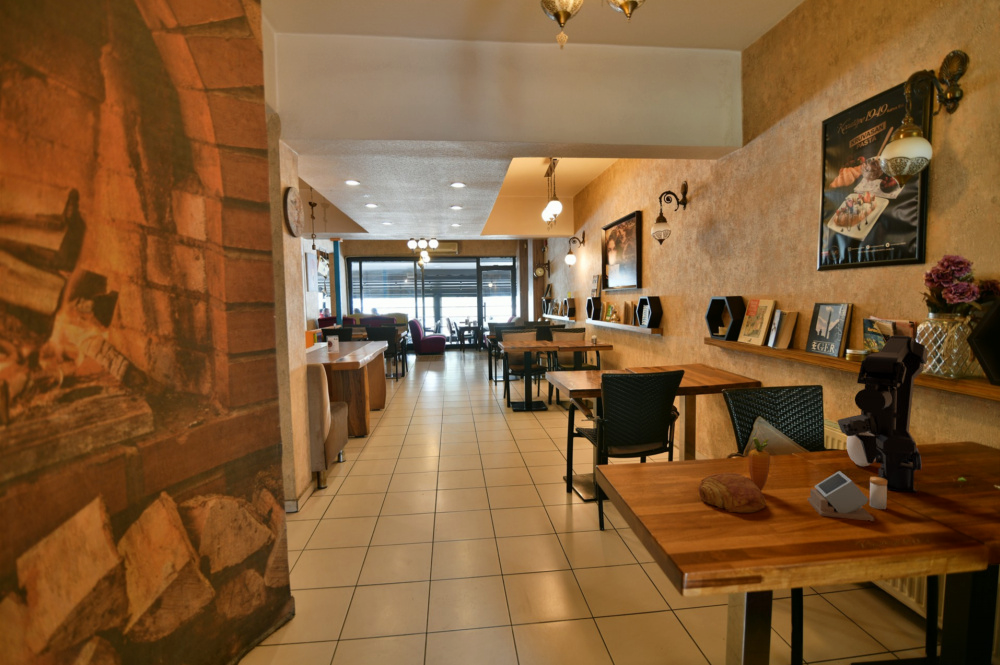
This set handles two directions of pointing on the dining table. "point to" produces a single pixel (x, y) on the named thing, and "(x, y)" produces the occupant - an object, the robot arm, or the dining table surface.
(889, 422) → the robot arm
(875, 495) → the orange-topped white peg
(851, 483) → the leaning socket
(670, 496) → the dining table surface
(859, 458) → the sauce bottle
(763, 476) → the carrot
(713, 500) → the croissant
